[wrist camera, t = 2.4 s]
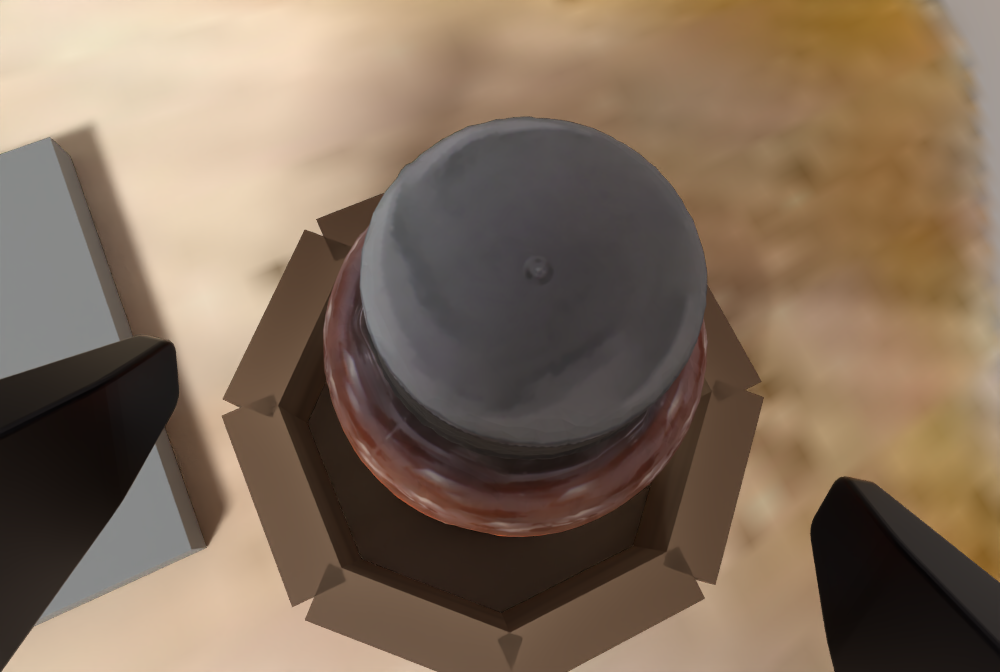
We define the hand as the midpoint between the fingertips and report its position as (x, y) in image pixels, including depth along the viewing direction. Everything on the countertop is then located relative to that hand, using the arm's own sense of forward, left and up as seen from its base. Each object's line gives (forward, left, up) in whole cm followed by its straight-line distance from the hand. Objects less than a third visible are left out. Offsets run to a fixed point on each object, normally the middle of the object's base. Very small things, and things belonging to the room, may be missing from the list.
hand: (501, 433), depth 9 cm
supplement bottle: (+1, -1, -9) cm, 10 cm away
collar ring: (+1, -1, -9) cm, 9 cm away
